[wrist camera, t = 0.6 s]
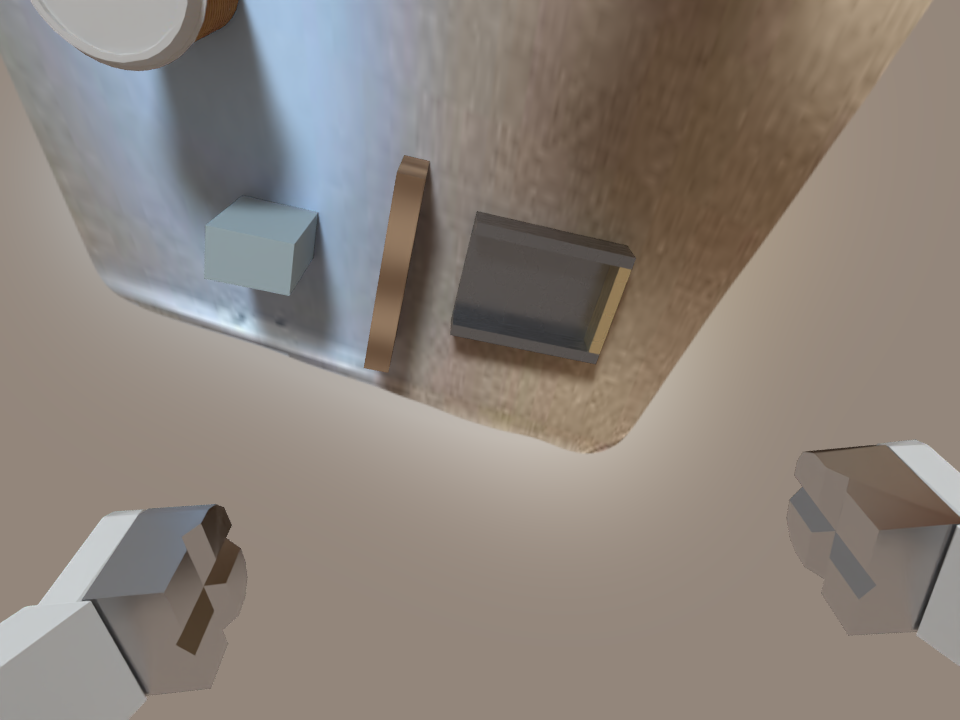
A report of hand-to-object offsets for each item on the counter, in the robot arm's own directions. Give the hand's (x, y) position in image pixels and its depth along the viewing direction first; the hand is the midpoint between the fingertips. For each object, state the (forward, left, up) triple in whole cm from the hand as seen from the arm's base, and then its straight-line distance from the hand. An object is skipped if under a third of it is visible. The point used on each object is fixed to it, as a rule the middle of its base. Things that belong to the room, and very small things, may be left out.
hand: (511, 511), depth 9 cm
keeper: (+12, +9, -43) cm, 45 cm away
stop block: (+12, -13, -43) cm, 47 cm away
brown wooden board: (+12, -3, -43) cm, 45 cm away
